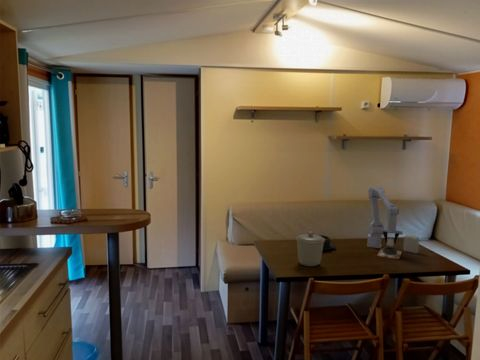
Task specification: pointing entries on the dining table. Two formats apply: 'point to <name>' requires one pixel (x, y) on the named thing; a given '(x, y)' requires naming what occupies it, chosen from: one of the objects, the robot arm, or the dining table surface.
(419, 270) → the dining table surface
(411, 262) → the dining table surface
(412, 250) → the photo printer
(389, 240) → the white round cylinder
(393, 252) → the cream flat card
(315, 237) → the canister
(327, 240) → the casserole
